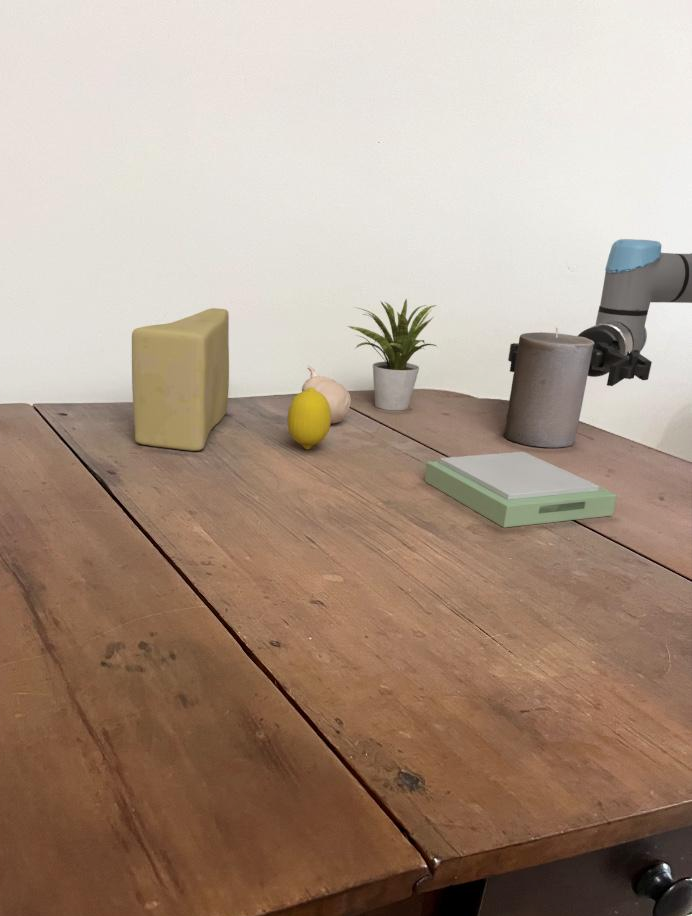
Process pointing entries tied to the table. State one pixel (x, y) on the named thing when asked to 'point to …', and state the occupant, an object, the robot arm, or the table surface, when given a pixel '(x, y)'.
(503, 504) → the scale
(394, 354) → the house plant
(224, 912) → the table surface
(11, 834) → the table surface
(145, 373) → the cheese
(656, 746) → the table surface
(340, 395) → the garlic bulb
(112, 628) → the table surface
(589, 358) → the pillar candle
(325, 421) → the lemon
